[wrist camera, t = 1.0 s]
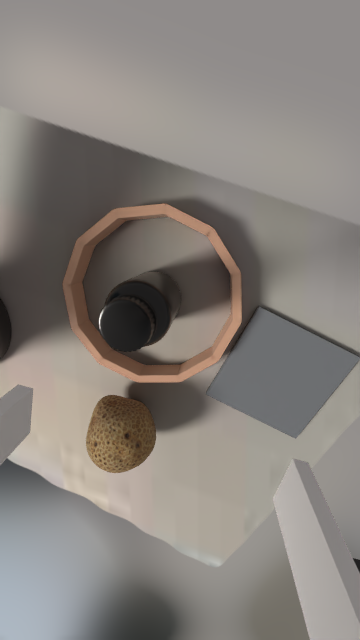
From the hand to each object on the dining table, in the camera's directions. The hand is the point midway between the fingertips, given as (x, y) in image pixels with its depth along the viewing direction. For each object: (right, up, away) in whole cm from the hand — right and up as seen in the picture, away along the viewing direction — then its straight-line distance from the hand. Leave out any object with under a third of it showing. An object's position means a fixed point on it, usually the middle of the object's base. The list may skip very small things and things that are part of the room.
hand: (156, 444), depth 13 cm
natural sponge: (-6, -7, +26) cm, 27 cm away
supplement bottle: (-2, +9, +20) cm, 22 cm away
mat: (+14, -1, +21) cm, 25 cm away
